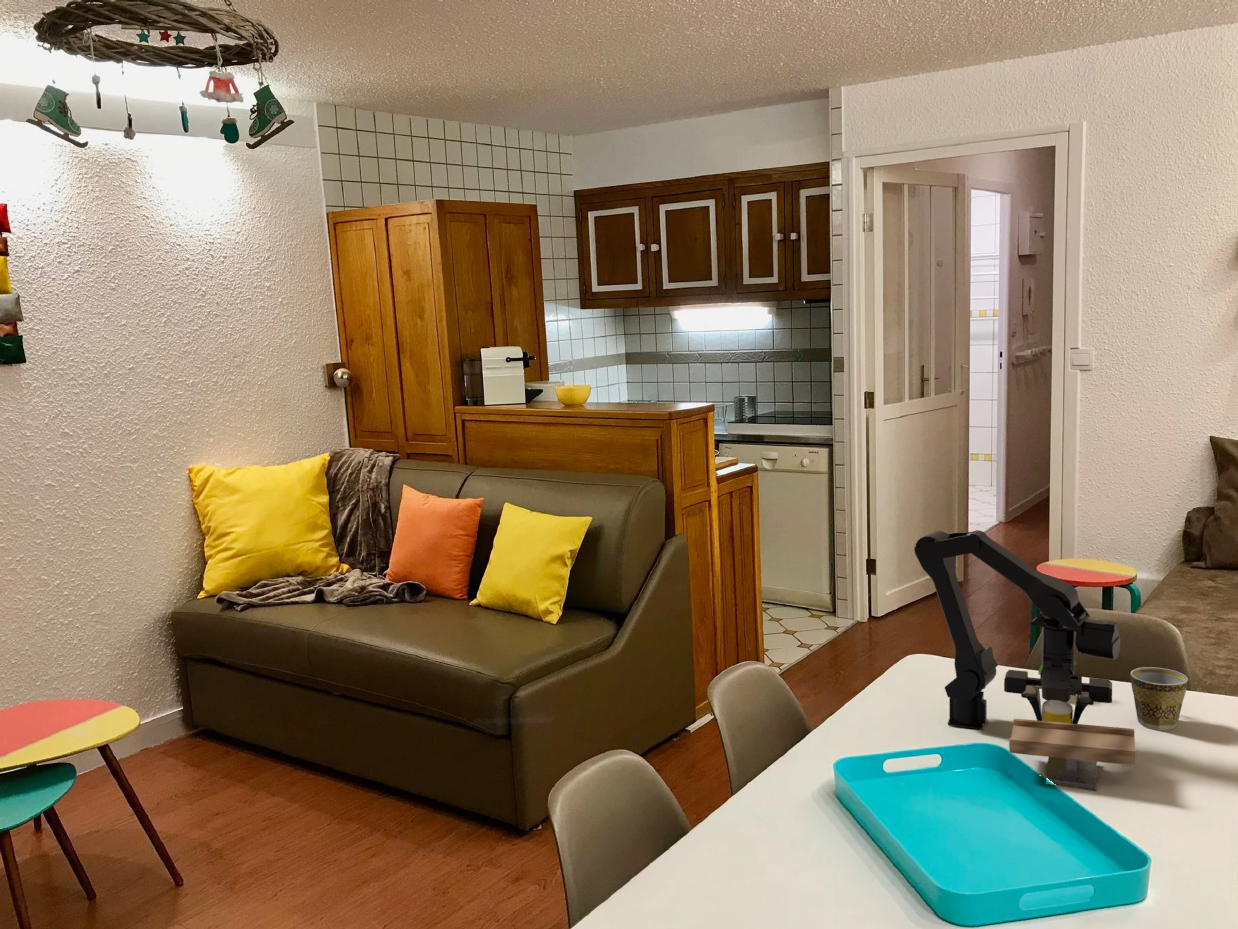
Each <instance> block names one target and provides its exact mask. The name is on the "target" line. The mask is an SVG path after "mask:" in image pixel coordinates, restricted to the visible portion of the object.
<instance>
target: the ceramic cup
mask: <svg viewBox="0 0 1238 929" xmlns="http://www.w3.org/2000/svg"><path fill="white" fill-rule="evenodd" d="M1129 676H1130V677H1129V678H1130V684H1131V691H1132V694H1133V699H1134V706H1135V712H1136V718H1137V722H1138V723H1139V724H1140V725H1141V726H1143V728H1145V727H1147V728H1146V729H1149V728H1150V729H1149V730H1153V729H1154V730H1153V731H1158V730H1159V732H1161V731H1160V730H1170V731H1173V730H1174V729H1175V728H1176V727H1177V726H1178V723H1179V721H1180V720H1179V719H1180V714H1181V710H1182V707H1183V701H1184V699H1185V695H1186V692H1187V687H1188V681H1189V678H1188V677H1187V675H1185V674H1184V673H1182V672H1179V671H1177V670H1174V669H1169V668H1164V667H1157V666H1156V667H1153V666H1149V667H1148V666H1147V667H1146V666H1139V667H1138V668H1135V669H1132V670H1131V671H1130V673H1129ZM1172 729H1173V730H1172Z"/></svg>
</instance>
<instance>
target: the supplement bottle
mask: <svg viewBox="0 0 1238 929" xmlns="http://www.w3.org/2000/svg"><path fill="white" fill-rule="evenodd" d="M1041 710H1042V721H1049V722H1061V723H1073V716H1074V709H1073V705H1072V704H1071V703H1070V702H1069V701H1068V702H1061V701H1057V700H1050V701H1049V700H1044V701H1043V703H1042V704H1041Z"/></svg>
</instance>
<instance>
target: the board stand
mask: <svg viewBox="0 0 1238 929" xmlns="http://www.w3.org/2000/svg"><path fill="white" fill-rule="evenodd" d="M1047 759H1048V760H1047V766H1046V773H1045V778H1046V777H1047V778H1048V779H1049V780H1050V781H1052V782H1053V783H1054V784H1056V785H1057V787H1062V788H1063V787H1065V788H1071V789H1080V790H1086V791H1092V792H1093V791H1094V792H1097V772H1098V771H1097V769H1098V767H1097V764H1098V762H1096V761H1086V760H1076V759H1066V758H1056V757H1047ZM1056 785H1055V786H1056Z"/></svg>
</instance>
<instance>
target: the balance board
mask: <svg viewBox="0 0 1238 929" xmlns="http://www.w3.org/2000/svg"><path fill="white" fill-rule="evenodd" d="M1012 721H1013V722H1012V723H1013V725H1012V731H1011V735H1010V737H1009V738H1008V739H1009V740H1008V748H1009V750H1008V751H1009V754H1017V755H1019V754H1020V755H1027V756H1037V757H1046V758H1048V757H1056V758H1066V759H1076V760H1086V761H1096V762H1097V763H1107V764H1117V765H1126V766H1134V767H1135V766H1136V764H1137V762H1136V760H1137V759H1136V757H1137V756H1136V740H1135V739H1136V738H1135V737H1136V736H1135V728H1128V727H1116V726H1104V725H1096V724H1095V725H1094V724H1083V723H1081V724H1080V723H1078V724H1072V723H1061V722H1049V721H1038V720H1037V719H1024V718H1015V717H1014V718H1013V720H1012Z"/></svg>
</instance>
